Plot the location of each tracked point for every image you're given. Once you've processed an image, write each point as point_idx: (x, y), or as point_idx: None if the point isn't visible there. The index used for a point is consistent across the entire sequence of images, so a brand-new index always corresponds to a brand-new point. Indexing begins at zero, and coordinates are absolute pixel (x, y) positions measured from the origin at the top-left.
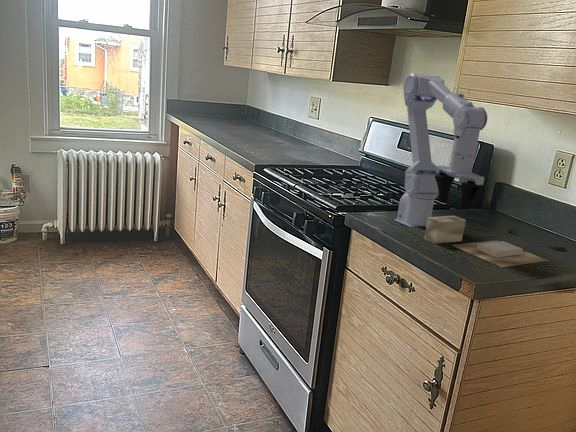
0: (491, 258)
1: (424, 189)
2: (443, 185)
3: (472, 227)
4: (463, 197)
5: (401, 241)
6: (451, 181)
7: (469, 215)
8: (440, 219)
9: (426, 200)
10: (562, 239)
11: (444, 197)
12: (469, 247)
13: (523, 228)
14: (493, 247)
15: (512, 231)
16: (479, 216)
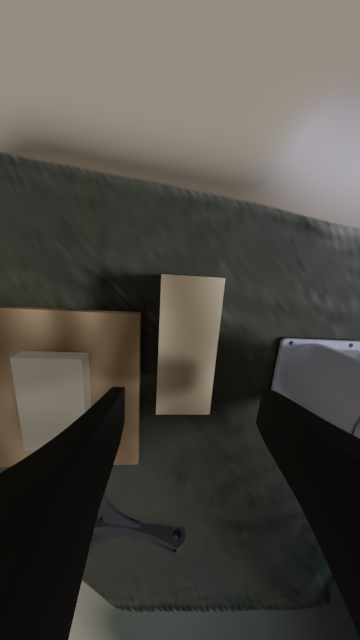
0: (22, 336)
1: None
2: (348, 483)
3: (242, 492)
4: (81, 431)
5: (230, 212)
6: (357, 606)
7: (302, 544)
8: (185, 311)
9: (355, 414)
10: (125, 598)
11: (272, 424)
12: (110, 350)
13: (199, 581)
14: (45, 380)
15: (171, 540)
16: (288, 558)
